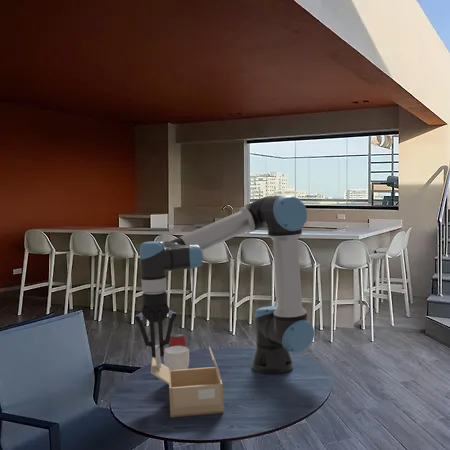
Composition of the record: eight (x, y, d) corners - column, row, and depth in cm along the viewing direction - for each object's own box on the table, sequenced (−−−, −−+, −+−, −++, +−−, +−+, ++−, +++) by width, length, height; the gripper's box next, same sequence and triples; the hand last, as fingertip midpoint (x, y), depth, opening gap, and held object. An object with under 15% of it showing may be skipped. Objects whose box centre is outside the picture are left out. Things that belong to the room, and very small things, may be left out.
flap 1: (169, 368, 165) (152, 357, 164) (169, 383, 152) (151, 371, 151) (168, 369, 165) (151, 358, 164) (168, 384, 152) (150, 373, 151)
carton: (217, 393, 169) (217, 366, 168) (223, 413, 153) (222, 384, 152) (169, 397, 167) (168, 370, 166) (170, 418, 151) (169, 388, 150)
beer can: (172, 361, 202) (171, 332, 201) (188, 362, 201) (187, 332, 200) (168, 367, 195) (166, 337, 194) (184, 367, 194) (183, 337, 194)
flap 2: (216, 364, 167) (210, 346, 166) (221, 379, 153) (214, 359, 153) (215, 364, 167) (208, 346, 166) (220, 379, 153) (212, 360, 153)
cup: (186, 388, 174) (184, 354, 173) (161, 387, 176) (159, 353, 175) (193, 378, 183) (191, 346, 182) (169, 377, 184) (167, 345, 184)
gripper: (175, 288, 161) (179, 361, 162) (133, 290, 159) (138, 364, 161) (175, 292, 153) (180, 369, 155) (132, 295, 152) (137, 372, 153)
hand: (158, 366), depth 158 cm, fingers closed
